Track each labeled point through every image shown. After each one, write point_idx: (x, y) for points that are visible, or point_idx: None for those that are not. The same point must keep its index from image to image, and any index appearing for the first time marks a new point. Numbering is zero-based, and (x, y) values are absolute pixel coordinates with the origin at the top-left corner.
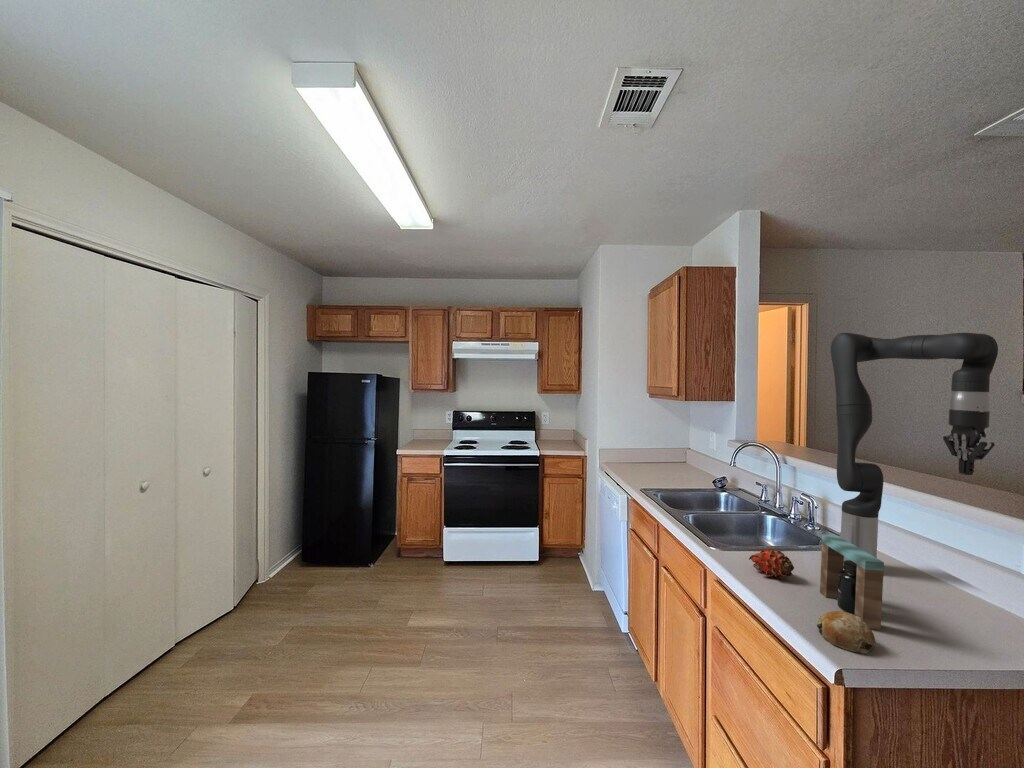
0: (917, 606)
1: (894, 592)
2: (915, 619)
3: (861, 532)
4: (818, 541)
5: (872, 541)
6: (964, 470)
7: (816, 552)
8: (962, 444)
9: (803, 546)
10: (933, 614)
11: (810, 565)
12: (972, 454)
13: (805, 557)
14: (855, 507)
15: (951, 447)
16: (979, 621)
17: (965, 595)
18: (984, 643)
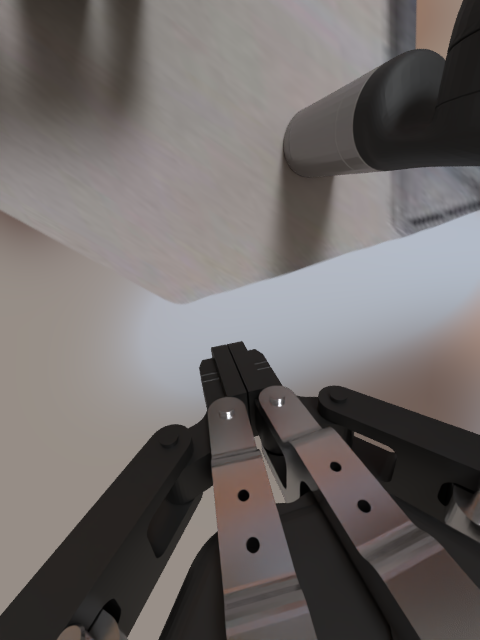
0: (147, 154)
1: (202, 147)
2: (74, 104)
3: (330, 109)
4: None
5: (316, 146)
6: (214, 359)
7: None
8: (268, 517)
9: None
10: (119, 164)
11: (305, 13)
12: (151, 468)
13: (351, 34)
14: (389, 68)
15: (390, 430)
16: (124, 234)
17: (229, 276)
18: (22, 183)
